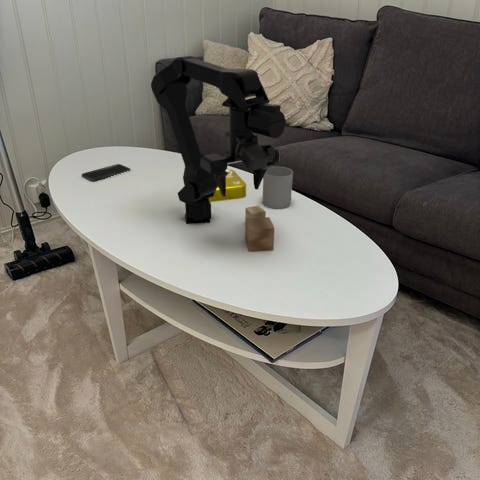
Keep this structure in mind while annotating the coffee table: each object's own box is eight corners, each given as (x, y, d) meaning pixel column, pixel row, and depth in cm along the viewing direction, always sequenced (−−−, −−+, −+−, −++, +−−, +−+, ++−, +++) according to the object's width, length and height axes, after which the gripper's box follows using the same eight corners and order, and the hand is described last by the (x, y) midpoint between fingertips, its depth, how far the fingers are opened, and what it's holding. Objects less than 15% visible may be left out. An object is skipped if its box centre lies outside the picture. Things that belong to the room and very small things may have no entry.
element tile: (188, 186, 151) (188, 172, 149) (233, 181, 156) (233, 167, 153) (200, 204, 139) (199, 189, 137) (247, 198, 143) (248, 183, 141)
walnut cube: (248, 252, 113) (249, 229, 110) (244, 240, 118) (245, 218, 115) (273, 250, 114) (274, 228, 111) (268, 238, 119) (269, 217, 116)
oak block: (251, 230, 124) (251, 213, 121) (245, 224, 127) (245, 207, 124) (264, 228, 125) (265, 211, 123) (258, 222, 128) (259, 205, 126)
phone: (80, 174, 156) (118, 163, 166) (80, 177, 157) (119, 166, 166) (92, 180, 151) (131, 169, 161) (93, 183, 152) (132, 172, 162)
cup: (288, 210, 135) (291, 177, 130) (260, 207, 136) (261, 175, 132) (291, 199, 142) (294, 167, 137) (265, 196, 144) (266, 165, 139)
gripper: (223, 144, 96) (222, 213, 104) (296, 132, 105) (291, 196, 112) (198, 130, 104) (200, 195, 112) (268, 120, 113) (265, 181, 120)
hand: (240, 192), depth 114 cm, fingers open, 9 cm apart
